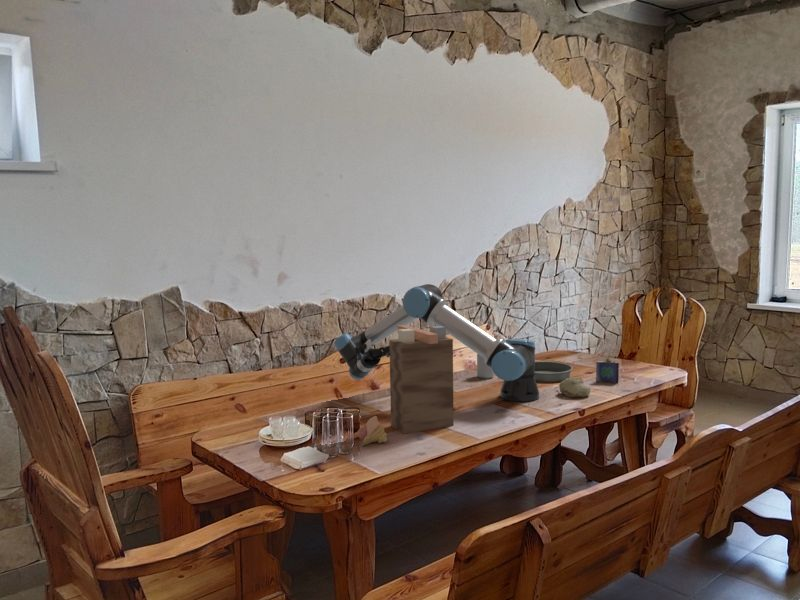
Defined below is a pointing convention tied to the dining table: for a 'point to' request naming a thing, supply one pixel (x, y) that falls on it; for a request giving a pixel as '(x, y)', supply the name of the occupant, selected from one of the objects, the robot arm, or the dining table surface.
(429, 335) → the terracotta stick
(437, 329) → the slate cube
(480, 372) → the can
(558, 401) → the dining table surface
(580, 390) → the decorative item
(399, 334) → the cream cube
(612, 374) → the dark small block
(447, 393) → the walnut stand
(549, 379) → the cake pan
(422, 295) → the robot arm
